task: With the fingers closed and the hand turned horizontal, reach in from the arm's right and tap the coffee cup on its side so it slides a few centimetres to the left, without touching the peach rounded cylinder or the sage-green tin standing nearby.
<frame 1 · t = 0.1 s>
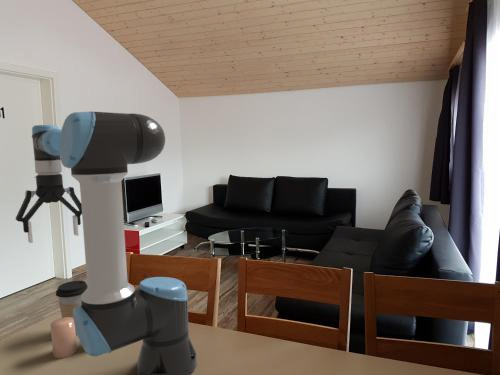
hand: (54, 238, 123), 28 cm above the table, tool pointing down, fingers open, 13 cm apart
peach rounded cylinder: (65, 352, 105), on the table
sage tin: (103, 342, 110), on the table
coffee cup: (75, 331, 118), on the table
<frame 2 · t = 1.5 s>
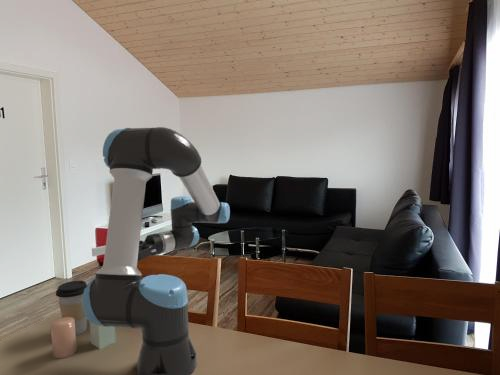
hand: (99, 256, 121), 22 cm above the table, tool horizontal, fingers open, 13 cm apart
nothing on the table moved.
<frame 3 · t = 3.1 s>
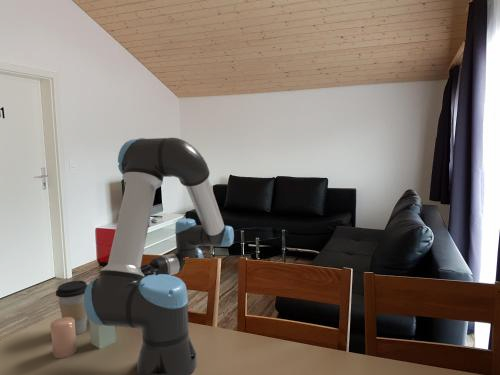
hand: (98, 283, 122), 13 cm above the table, tool horizontal, fingers closed
nothing on the table moved.
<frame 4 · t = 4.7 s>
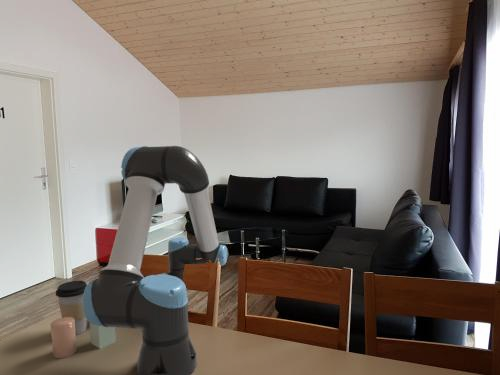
hand: (88, 305, 120), 7 cm above the table, tool horizontal, fingers closed
coffee cup: (75, 331, 118), on the table, touching gripper
everything else where it was.
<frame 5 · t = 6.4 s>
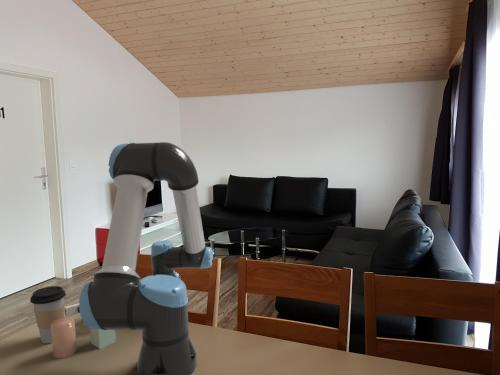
hand: (65, 312, 115), 7 cm above the table, tool horizontal, fingers closed
coffee cup: (52, 339, 113), on the table, touching gripper
everything else where it was.
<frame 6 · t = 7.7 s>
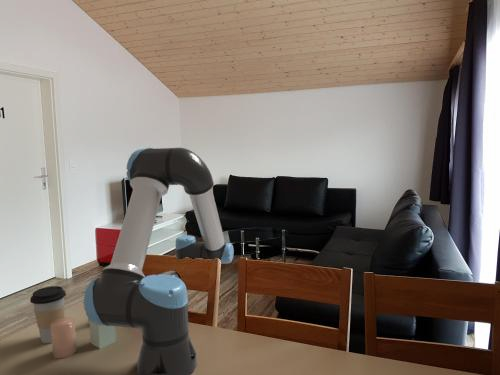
hand: (98, 302, 122), 7 cm above the table, tool horizontal, fingers closed
coffee cup: (52, 339, 113), on the table
everything else where it was.
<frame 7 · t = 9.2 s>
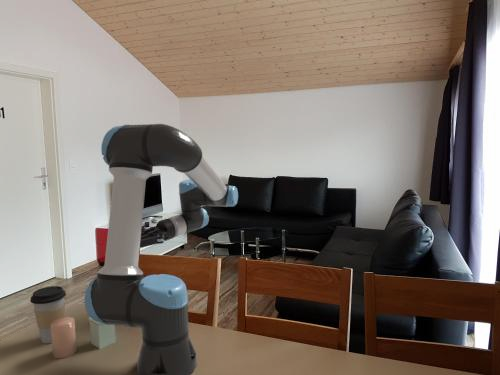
hand: (108, 249, 120), 25 cm above the table, tool horizontal, fingers closed
nothing on the table moved.
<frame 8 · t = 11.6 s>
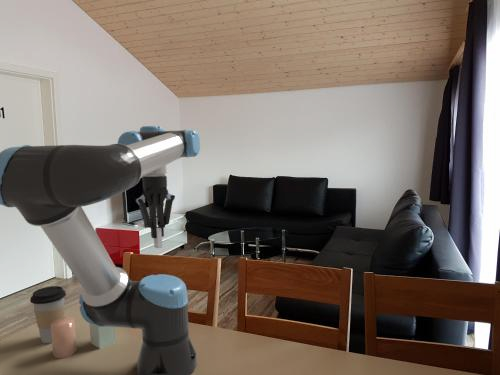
hand: (158, 247, 122), 24 cm above the table, tool pointing down, fingers closed
nothing on the table moved.
at the end: coffee cup moved 6.8 cm from its start; coffee cup tilted 0°; peach rounded cylinder moved 0.0 cm from its start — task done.
